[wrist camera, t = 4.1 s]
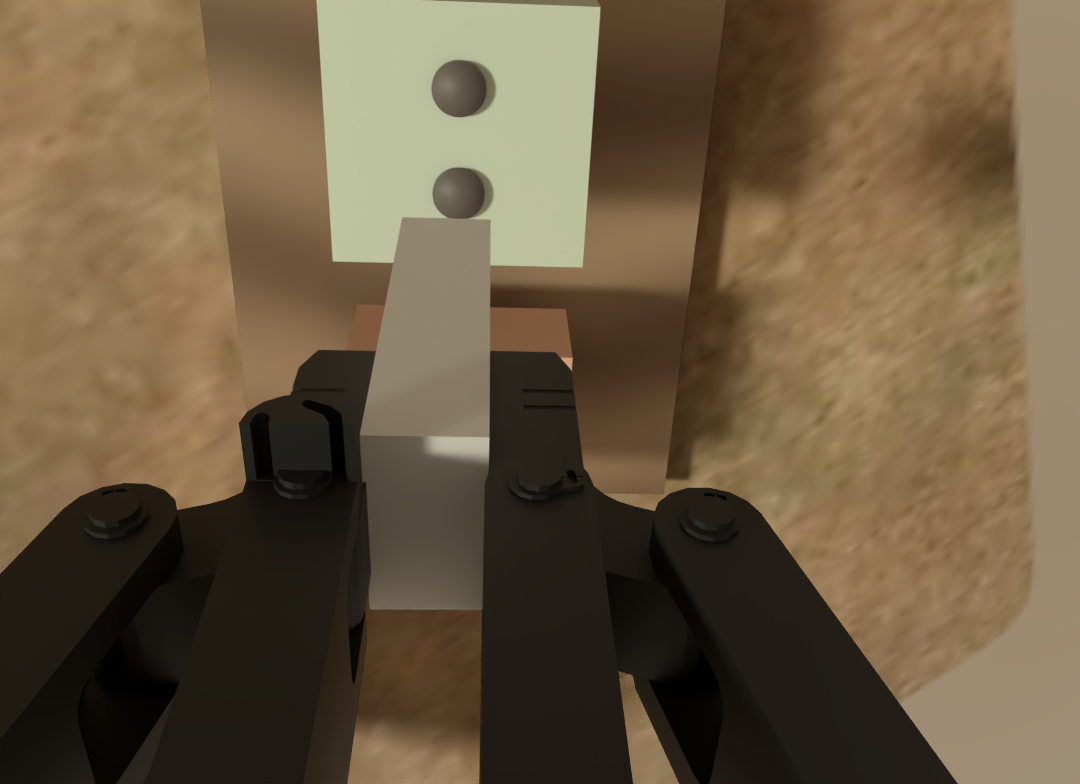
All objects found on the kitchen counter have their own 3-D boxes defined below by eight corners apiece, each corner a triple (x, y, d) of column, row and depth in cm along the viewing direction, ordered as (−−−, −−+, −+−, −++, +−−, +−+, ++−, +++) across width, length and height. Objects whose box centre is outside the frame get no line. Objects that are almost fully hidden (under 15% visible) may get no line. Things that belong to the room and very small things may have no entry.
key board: (141, -613, 22) (107, -652, 20) (788, -567, 23) (815, -600, 21) (262, 472, 36) (249, 510, 34) (659, 477, 37) (668, 514, 35)
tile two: (335, -26, 24) (314, -3, 21) (589, -16, 24) (601, 8, 22) (348, 216, 27) (331, 264, 24) (573, 223, 27) (583, 270, 25)
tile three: (357, 304, 29) (343, 357, 27) (565, 309, 30) (573, 361, 27) (366, 476, 32) (354, 539, 30) (555, 478, 33) (561, 541, 30)
